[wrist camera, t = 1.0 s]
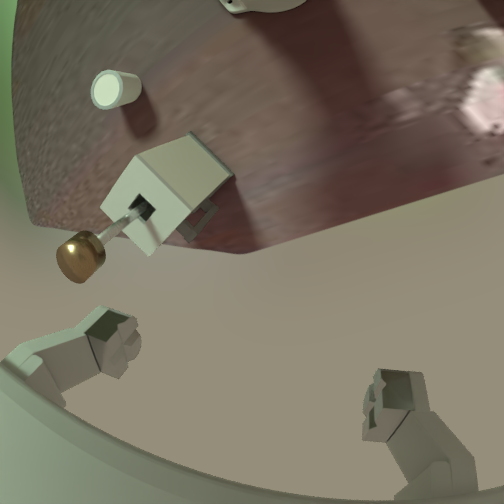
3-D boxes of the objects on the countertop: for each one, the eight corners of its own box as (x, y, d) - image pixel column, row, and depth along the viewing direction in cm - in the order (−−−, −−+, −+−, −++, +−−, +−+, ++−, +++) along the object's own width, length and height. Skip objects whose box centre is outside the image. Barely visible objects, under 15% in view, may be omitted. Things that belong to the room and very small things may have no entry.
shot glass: (115, 70, 44) (92, 70, 38) (147, 70, 43) (124, 69, 37) (112, 105, 47) (88, 109, 41) (142, 107, 47) (120, 110, 41)
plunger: (133, 192, 42) (38, 258, 25) (160, 157, 39) (57, 212, 22) (167, 226, 44) (86, 309, 27) (196, 194, 40) (113, 272, 23)
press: (155, 172, 52) (96, 207, 37) (191, 131, 48) (134, 150, 32) (204, 220, 55) (161, 272, 40) (243, 183, 50) (210, 225, 35)
